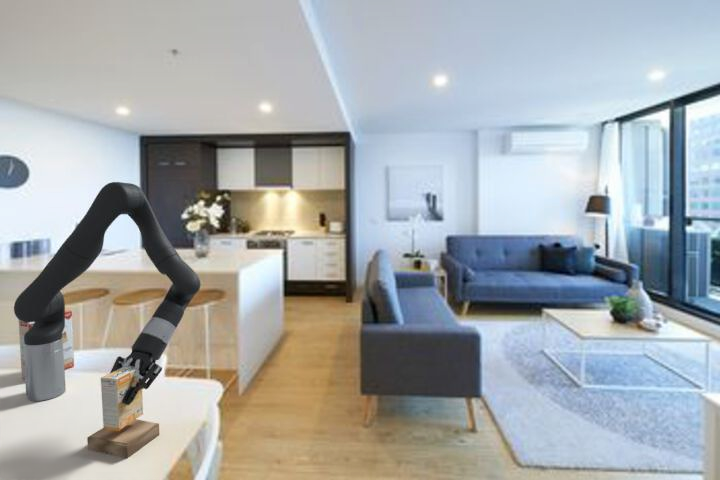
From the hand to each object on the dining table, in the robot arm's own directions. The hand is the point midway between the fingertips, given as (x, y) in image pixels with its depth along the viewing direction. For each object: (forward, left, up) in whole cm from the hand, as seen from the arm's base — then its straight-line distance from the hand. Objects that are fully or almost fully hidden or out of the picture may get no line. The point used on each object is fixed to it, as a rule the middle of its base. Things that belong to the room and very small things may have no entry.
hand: (116, 401), depth 100 cm
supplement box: (0, +2, -6) cm, 7 cm away
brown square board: (0, +2, -11) cm, 12 cm away
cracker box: (-58, +27, -12) cm, 65 cm away
